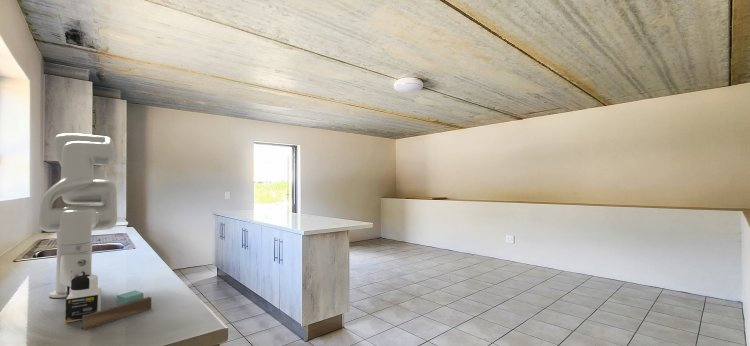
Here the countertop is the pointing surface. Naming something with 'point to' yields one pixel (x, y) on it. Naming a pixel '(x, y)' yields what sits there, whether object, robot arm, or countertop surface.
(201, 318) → the countertop surface
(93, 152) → the robot arm
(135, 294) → the teal block
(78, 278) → the medicine bottle
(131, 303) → the walnut fence
